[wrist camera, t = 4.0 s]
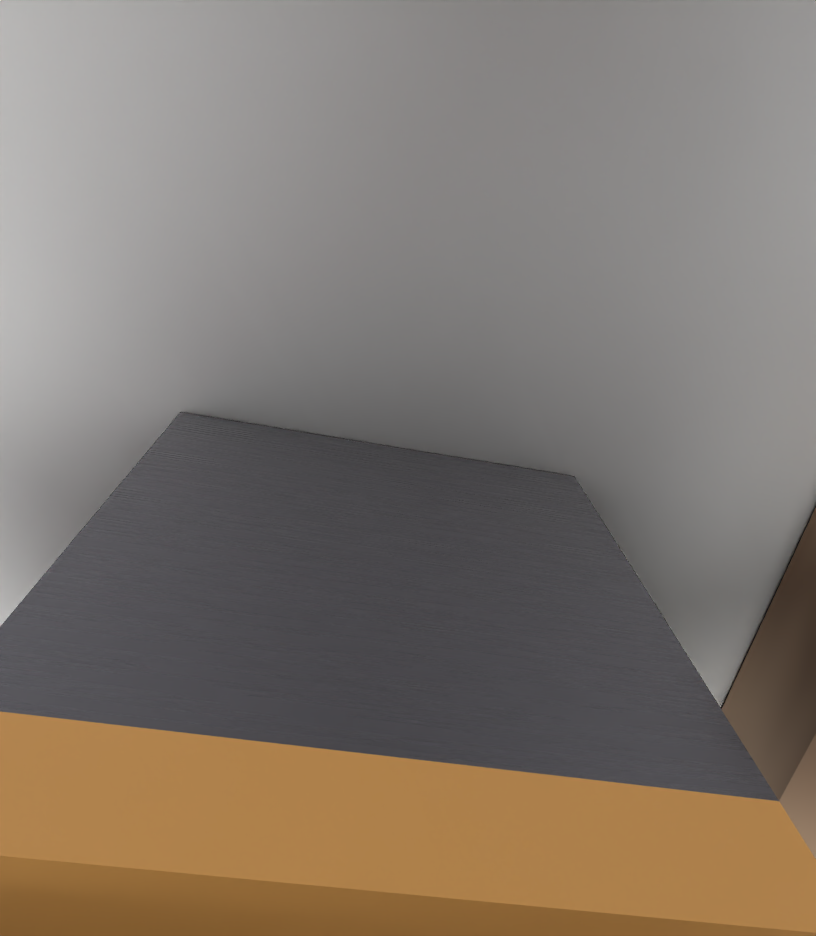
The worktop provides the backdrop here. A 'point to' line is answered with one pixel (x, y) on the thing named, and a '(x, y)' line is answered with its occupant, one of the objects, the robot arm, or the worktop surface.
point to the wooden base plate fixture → (784, 691)
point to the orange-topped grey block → (368, 714)
